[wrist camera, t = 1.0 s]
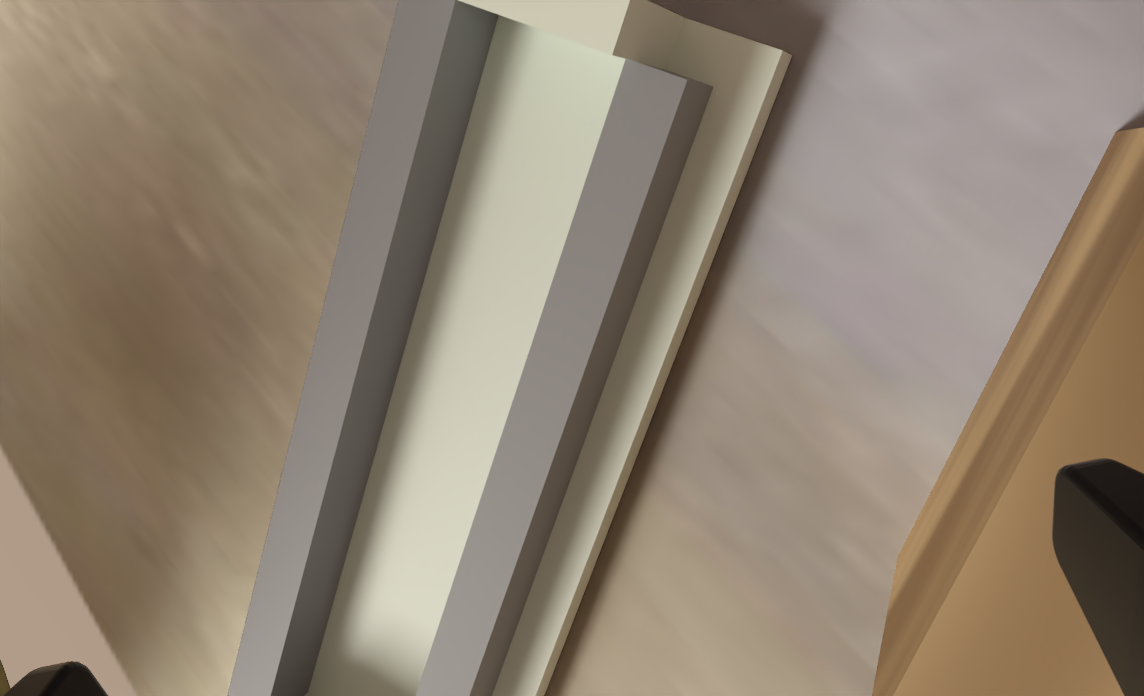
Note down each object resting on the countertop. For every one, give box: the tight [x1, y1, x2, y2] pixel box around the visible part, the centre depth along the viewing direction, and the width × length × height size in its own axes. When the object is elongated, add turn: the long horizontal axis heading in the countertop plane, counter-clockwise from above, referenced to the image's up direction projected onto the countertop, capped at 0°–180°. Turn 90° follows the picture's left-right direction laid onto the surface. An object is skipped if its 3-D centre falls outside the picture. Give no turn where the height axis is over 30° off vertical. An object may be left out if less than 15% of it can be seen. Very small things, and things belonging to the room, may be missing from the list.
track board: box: [227, 0, 792, 696], centre depth 21 cm, size 8×20×4 cm, turn 161°
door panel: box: [872, 127, 1144, 696], centre depth 14 cm, size 2×9×7 cm, turn 161°
